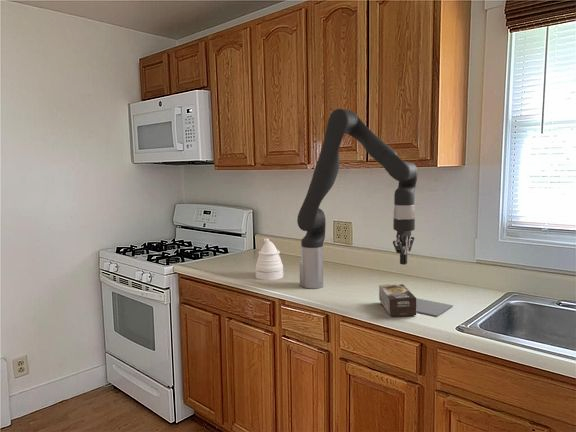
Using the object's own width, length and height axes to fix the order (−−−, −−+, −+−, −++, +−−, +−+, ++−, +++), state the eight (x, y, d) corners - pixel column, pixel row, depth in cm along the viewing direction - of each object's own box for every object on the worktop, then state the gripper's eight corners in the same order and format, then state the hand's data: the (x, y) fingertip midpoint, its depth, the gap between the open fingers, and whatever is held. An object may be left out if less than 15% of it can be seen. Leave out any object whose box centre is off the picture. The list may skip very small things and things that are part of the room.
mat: (393, 307, 159) (393, 306, 159) (410, 298, 169) (411, 297, 169) (437, 316, 148) (437, 315, 148) (452, 306, 159) (452, 305, 159)
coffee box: (402, 282, 164) (417, 297, 148) (402, 299, 165) (417, 315, 149) (378, 284, 164) (390, 299, 148) (378, 300, 165) (390, 317, 149)
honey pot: (273, 281, 198) (272, 241, 195) (250, 277, 204) (249, 239, 202) (288, 275, 208) (288, 237, 206) (266, 271, 215) (265, 235, 213)
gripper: (402, 214, 168) (402, 259, 170) (385, 218, 158) (385, 266, 160) (421, 216, 163) (421, 262, 165) (405, 219, 153) (404, 268, 155)
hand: (403, 264), depth 162 cm, fingers closed
